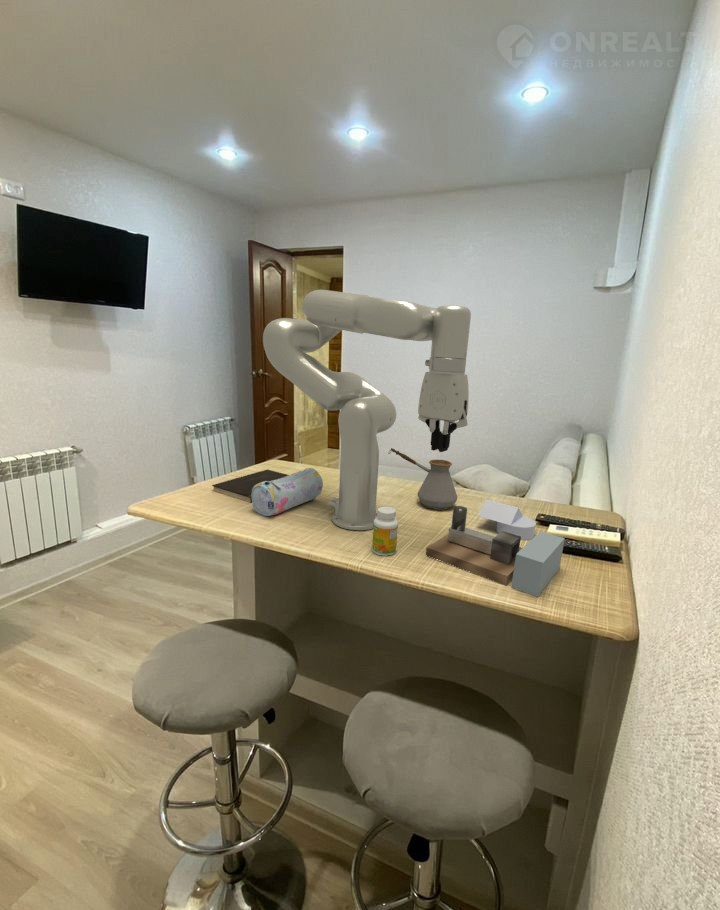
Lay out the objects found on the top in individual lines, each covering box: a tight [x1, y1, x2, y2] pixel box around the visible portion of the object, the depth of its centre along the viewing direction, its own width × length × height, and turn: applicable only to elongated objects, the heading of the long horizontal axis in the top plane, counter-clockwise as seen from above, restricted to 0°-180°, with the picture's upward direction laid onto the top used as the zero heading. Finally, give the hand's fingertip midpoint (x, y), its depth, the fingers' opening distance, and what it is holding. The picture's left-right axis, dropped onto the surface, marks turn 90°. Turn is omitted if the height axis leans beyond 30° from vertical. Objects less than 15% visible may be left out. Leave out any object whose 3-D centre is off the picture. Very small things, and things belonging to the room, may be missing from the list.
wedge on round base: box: [477, 498, 537, 541], centre depth 113 cm, size 9×7×13 cm
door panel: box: [425, 531, 523, 586], centre depth 97 cm, size 18×15×6 cm
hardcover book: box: [211, 469, 290, 504], centre depth 137 cm, size 16×23×2 cm
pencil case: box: [251, 467, 324, 517], centre depth 121 cm, size 21×9×10 cm, turn 144°
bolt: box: [447, 505, 496, 554], centre depth 97 cm, size 12×3×8 cm, turn 52°
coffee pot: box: [387, 447, 458, 511], centre depth 130 cm, size 21×12×15 cm, turn 67°
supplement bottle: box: [371, 506, 399, 557], centre depth 97 cm, size 5×5×10 cm
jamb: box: [510, 531, 566, 598], centre depth 90 cm, size 5×15×7 cm, turn 142°
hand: (439, 449), depth 100 cm, fingers closed
